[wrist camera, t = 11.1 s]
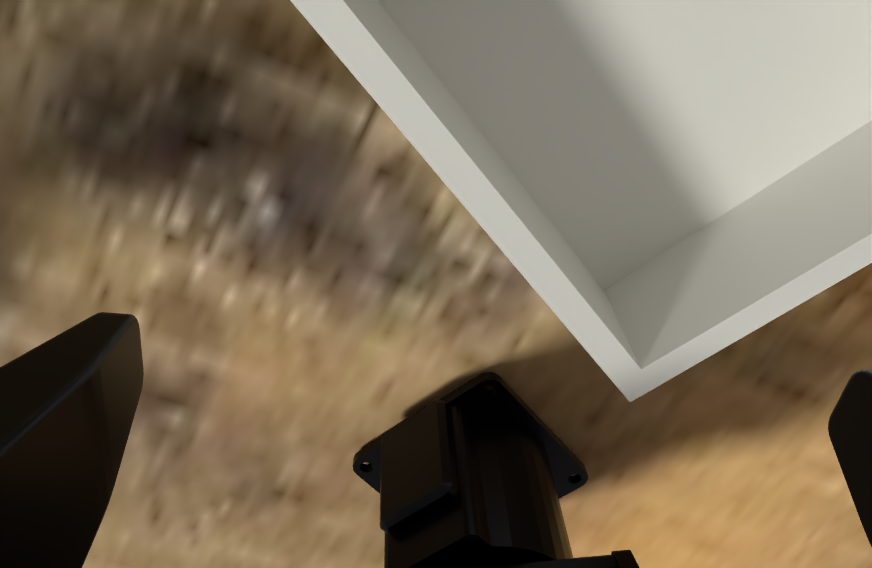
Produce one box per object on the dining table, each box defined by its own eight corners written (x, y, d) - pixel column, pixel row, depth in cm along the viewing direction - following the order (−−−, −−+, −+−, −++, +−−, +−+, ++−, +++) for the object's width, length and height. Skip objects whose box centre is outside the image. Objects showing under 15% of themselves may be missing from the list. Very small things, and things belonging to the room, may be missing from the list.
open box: (1004, 39, 21) (1165, 92, 16) (588, 303, 24) (630, 402, 20) (812, -516, 15) (984, -660, 10) (303, -51, 18) (276, -17, 14)
